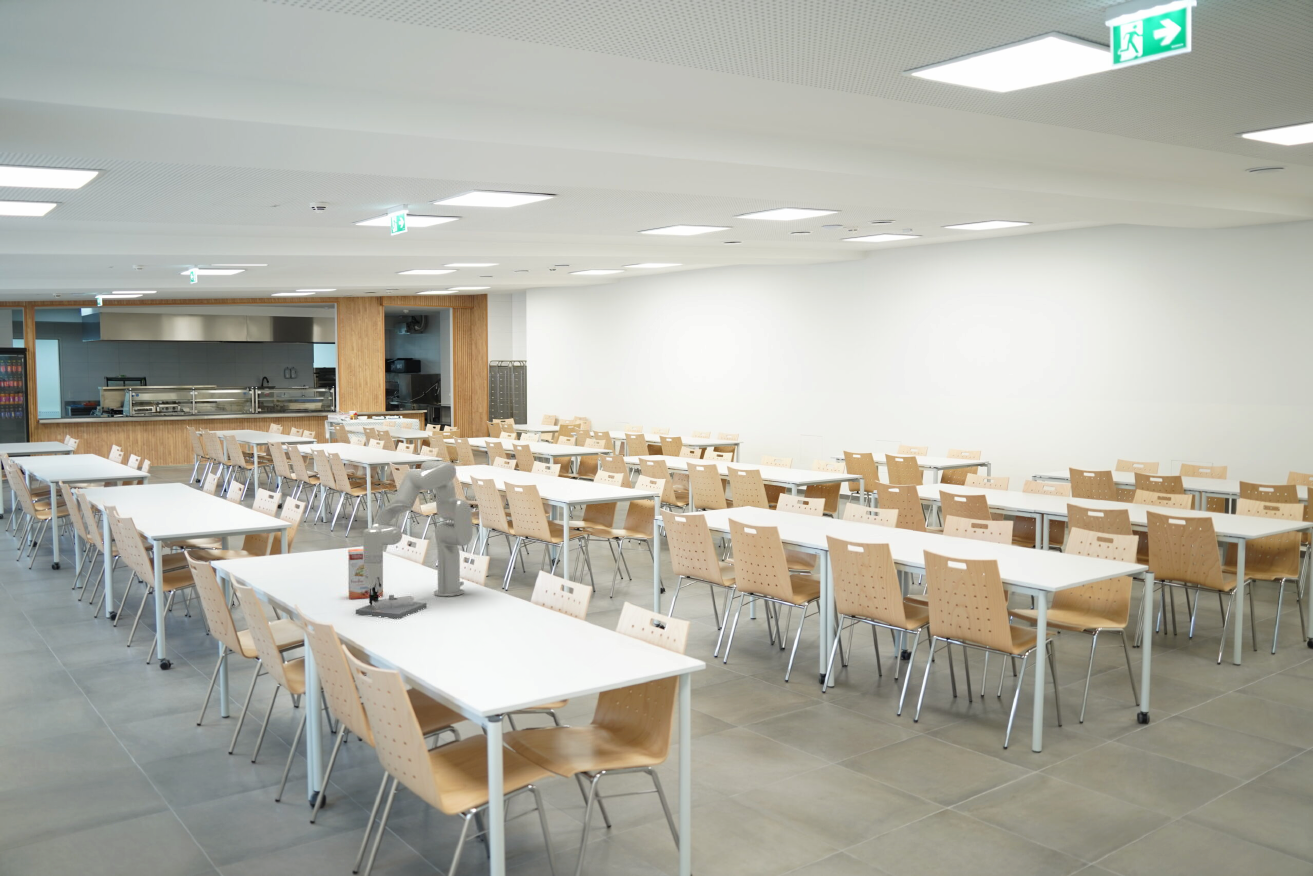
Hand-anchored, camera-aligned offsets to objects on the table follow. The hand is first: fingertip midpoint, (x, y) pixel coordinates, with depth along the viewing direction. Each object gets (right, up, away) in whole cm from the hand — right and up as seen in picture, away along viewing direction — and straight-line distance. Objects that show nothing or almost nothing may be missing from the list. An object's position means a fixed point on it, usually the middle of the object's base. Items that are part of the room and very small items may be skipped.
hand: (373, 603), depth 398 cm
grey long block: (+8, -1, +1) cm, 8 cm away
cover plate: (+7, -3, +1) cm, 8 cm away
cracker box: (-11, -2, +26) cm, 28 cm away
